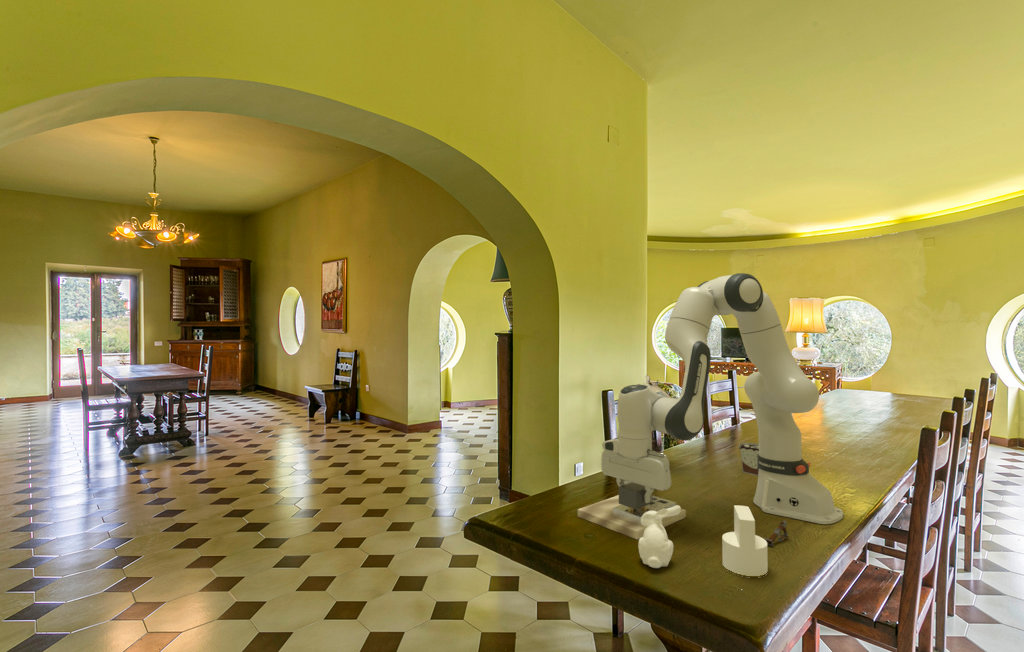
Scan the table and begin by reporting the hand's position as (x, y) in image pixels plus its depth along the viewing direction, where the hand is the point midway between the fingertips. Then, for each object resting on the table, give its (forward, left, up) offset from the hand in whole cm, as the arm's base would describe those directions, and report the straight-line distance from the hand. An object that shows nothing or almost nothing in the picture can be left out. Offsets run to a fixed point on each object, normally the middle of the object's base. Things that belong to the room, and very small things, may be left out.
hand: (634, 498), depth 133 cm
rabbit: (-15, +12, -7) cm, 20 cm away
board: (+4, -4, -7) cm, 9 cm away
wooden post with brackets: (-29, -18, -8) cm, 34 cm away
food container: (-1, -71, -7) cm, 72 cm away
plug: (0, -1, -3) cm, 3 cm away
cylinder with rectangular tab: (-30, +1, -7) cm, 31 cm away
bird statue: (+26, -49, -7) cm, 56 cm away
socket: (0, -4, -5) cm, 7 cm away
